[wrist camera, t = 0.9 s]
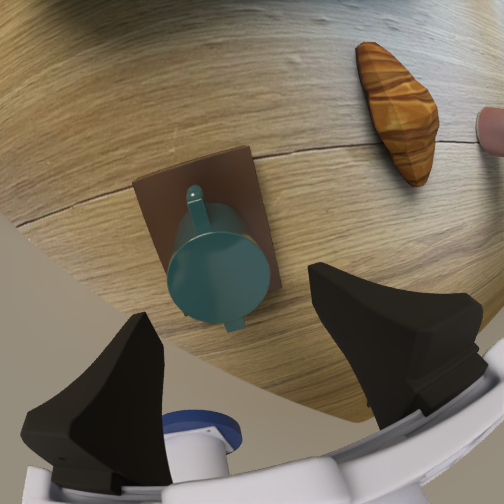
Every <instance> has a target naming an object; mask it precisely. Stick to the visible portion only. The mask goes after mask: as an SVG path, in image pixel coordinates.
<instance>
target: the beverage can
mask: <svg viewBox="0 0 504 504" xmlns="http://www.w3.org/2000/svg"><path fill="white" fill-rule="evenodd" d="M476 130H477V136H478V140H479V143H480V145H481V146H482V148H483V149H484V150H485V151H486V152H487V153H489V154H492V155H496V156H500V157H504V109H501V108H492V107H485V108H483V109H482V110H481V111H480V112H479V114H478V116H477V121H476Z"/></svg>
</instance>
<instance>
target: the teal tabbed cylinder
mask: <svg viewBox="0 0 504 504" xmlns="http://www.w3.org/2000/svg"><path fill="white" fill-rule="evenodd" d="M186 201H187V206H188V209H189V211H188V212H187V213H186V214H185V215H184V216H183V217H182V219H181V220H180V222H179V223H178V226H177V228H176V232H175V237H174V241H173V246H172V251H171V256H170V261H169V266H168V271H167V286H168V290H169V293H170V296H171V298H172V299H173V301H174V302H175V304H176V305H177V306H178V307H179V308H180V310H182V311H183V312H184V313H185V314H187V315H188V316H190V317H192V318H194V319H196V320H199V321H202V322H207V323H224V326H225V328H226V331H227V332H228V333H229V332H232V331H236V330H239V329H243V328H245V327H246V326H245V322H244V319H243V317H244V316H246V315H247V314H249V313H251V312H252V311H253V310H254V309H255V308H256V307H257V306H258V305H259V304H260V303H261V302H262V300H263V299H264V297H265V295H266V293H267V291H268V288H269V284H270V267H269V263H268V260H267V258H266V256H265V254H264V253H263V251H262V249H261V247H260V245H259V244H258V242H257V240H256V238H255V237H254V235H253V233H252V231H251V230H250V228H249V226H248V224H247V223H246V221H245V219H244V218H243V216H242V215H241V214H240V213H239V212H238V211H236V210H235V209H233V208H232V207H230V206H228V205H225V204H221V203H206V199H205V196H204V192H203V188H202V186H201V185H200V184H199V183H196V182H195V183H191V184H190V185H189V186H188V189H187V193H186Z"/></svg>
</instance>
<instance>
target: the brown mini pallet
mask: <svg viewBox="0 0 504 504" xmlns="http://www.w3.org/2000/svg"><path fill="white" fill-rule="evenodd" d="M195 182H196V183H199V184H200V185H201V186H202V188H203V192H204V196H205V199H206V203H221V204H225V205H228V206H230V207H232V208H233V209H235V210H236V211H238V212H239V213H240V214H241V215H242V216H243V218H244V219H245V221H246V223H247V224H248V226H249V228H250V230H251V231H252V233H253V235H254V237H255V238H256V240H257V242H258V244H259V245H260V247H261V249H262V251H263V253H264V254H265V256H266V258H267V260H268V263H269V267H270V284H269V288H268V291H267V292H270V291H274V290H277V289H280V288H282V284H281V280H280V275H279V270H278V266H277V261H276V257H275V252H274V248H273V243H272V239H271V235H270V230H269V226H268V222H267V217H266V213H265V209H264V204H263V200H262V196H261V192H260V187H259V183H258V179H257V175H256V171H255V167H254V163H253V158H252V154H251V150H250V146H244V145H243V146H239V147H235V148H232V149H228V150H224V151H220V152H217V153H213V154H210V155H206V156H203V157H199V158H196V159H193V160H189V161H186V162H183V163H180V164H177V165H174V166H171V167H168V168H165V169H162V170H159V171H156V172H153V173H150V174H147V175H145V176H142V177H139V178H137V179H136V180H134V181H133V182H132V184H133V187H134V190H135V193H136V196H137V199H138V202H139V205H140V208H141V210H142V213H143V216H144V219H145V222H146V224H147V227H148V230H149V232H150V235H151V238H152V240H153V243H154V245H155V248H156V250H157V253H158V255H159V258H160V260H161V263H162V265H163V268H164V270H165V272H166V275H167V271H168V266H169V261H170V256H171V251H172V246H173V241H174V237H175V232H176V228H177V226H178V223H179V222H180V220H181V219H182V217H183V216H184V215H185V214H186V213H187V212H188V211H189V209H188V206H187V201H186V193H187V189H188V186H189V185H190V184H191V183H195ZM183 313H184V312H183ZM184 315H185V316H188V315H187V314H185V313H184Z"/></svg>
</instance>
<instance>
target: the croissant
mask: <svg viewBox="0 0 504 504" xmlns="http://www.w3.org/2000/svg"><path fill="white" fill-rule="evenodd" d="M355 50H356V60H357V67H358V71H359V76H360V81H361V85H362V87H363V88H364V90H365V92H366V95H367V101H368V107H369V111H370V115H371V119H372V123H373V125H374V127H375V129H376V130H377V132H378V134H379V136H380V137H381V139H382V141H383V142H384V144H385V145H386V147H387V148H388V150H389V153H390V157H391V159H392V161H393V163H394V164H395V166H396V167H397V169H398V170H399V172H400V174H401V175H402V176H403V177H404V179H405V180H406V181H407V182H408V184H409V185H411V186H412V187H420V186H423V185H424V184H425V183H426V182H427V180H428V177H429V174H430V171H431V168H432V163H433V157H434V150H435V136H436V134H437V131H438V128H439V117H438V110H437V106H436V104H435V102H434V100H433V98H432V97H431V95H430V93H429V91H428V90H427V89H426V88H425V87H424V86H423V85H421V84H420V83H419V82H417V81H416V80H415V79H414V77H413V76H412V75H411V74H410V72H409V71H408V70H407V69H406V68H405V67H404V66H403V65H402V64H401V63H400V62H399V61H398V60H397V59H396V58H395V57H394V56H393V55H392V54H391V53H389V52H388V51H387V50H385V49H384V48H383V47H381V46H380V45H378V44H377V43H376V42H363V43H361V44H360V45H358V46H357V47H356V48H355Z"/></svg>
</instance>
